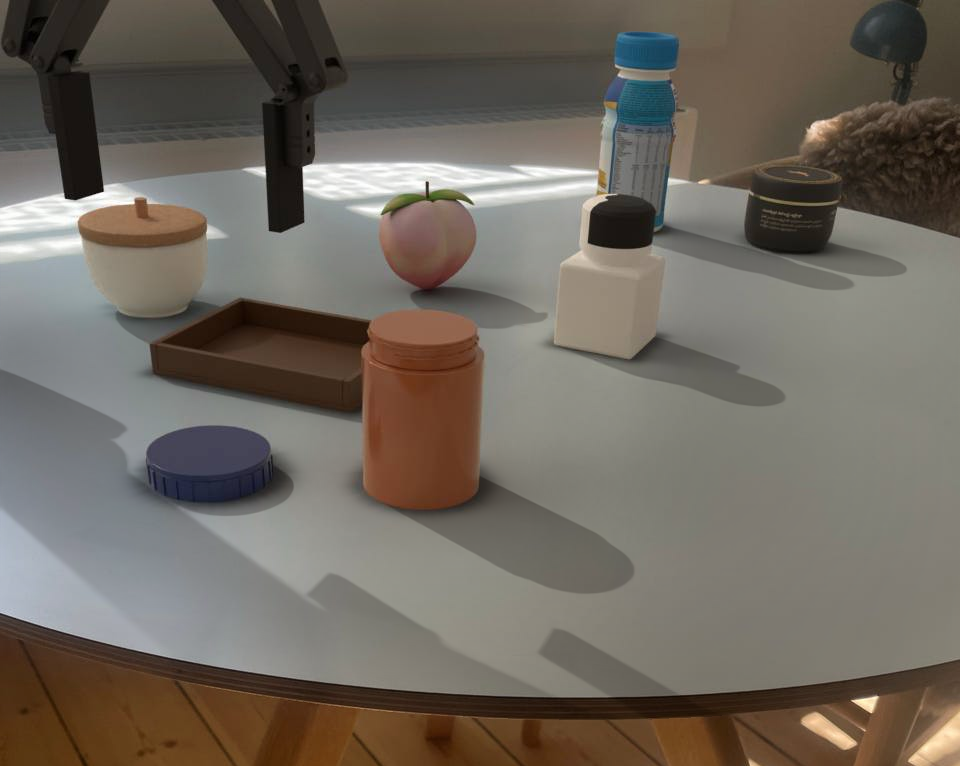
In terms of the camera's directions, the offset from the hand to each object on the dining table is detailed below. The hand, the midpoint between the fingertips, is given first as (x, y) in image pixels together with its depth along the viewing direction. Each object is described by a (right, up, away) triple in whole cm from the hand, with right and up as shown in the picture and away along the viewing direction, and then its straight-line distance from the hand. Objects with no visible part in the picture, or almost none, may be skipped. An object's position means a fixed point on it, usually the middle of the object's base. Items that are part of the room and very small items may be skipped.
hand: (182, 211), depth 67 cm
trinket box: (-12, +5, +37) cm, 39 cm away
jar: (+52, +20, +65) cm, 86 cm away
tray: (+2, -3, +26) cm, 27 cm away
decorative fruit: (+12, +9, +45) cm, 47 cm away
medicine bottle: (+28, +1, +35) cm, 45 cm away
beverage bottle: (+34, +23, +69) cm, 80 cm away
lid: (0, -13, +8) cm, 15 cm away
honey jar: (+13, -14, +9) cm, 22 cm away
